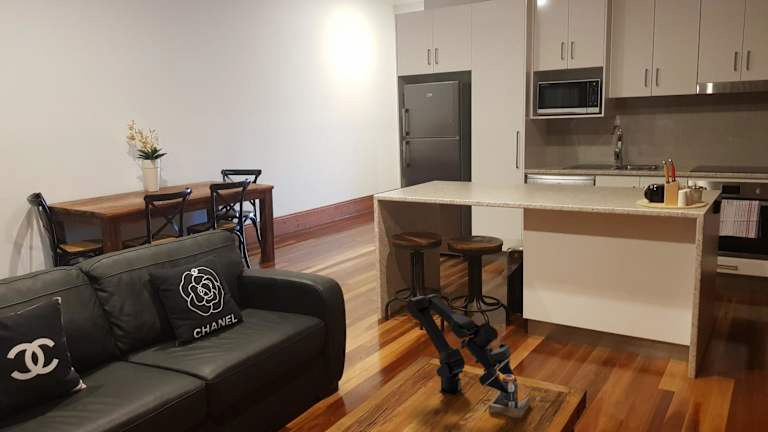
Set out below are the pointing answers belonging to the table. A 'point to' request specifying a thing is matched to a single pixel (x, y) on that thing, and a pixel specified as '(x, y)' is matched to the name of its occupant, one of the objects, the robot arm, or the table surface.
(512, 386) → the pill bottle
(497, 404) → the box
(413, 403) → the table surface
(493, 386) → the robot arm
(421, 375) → the table surface
